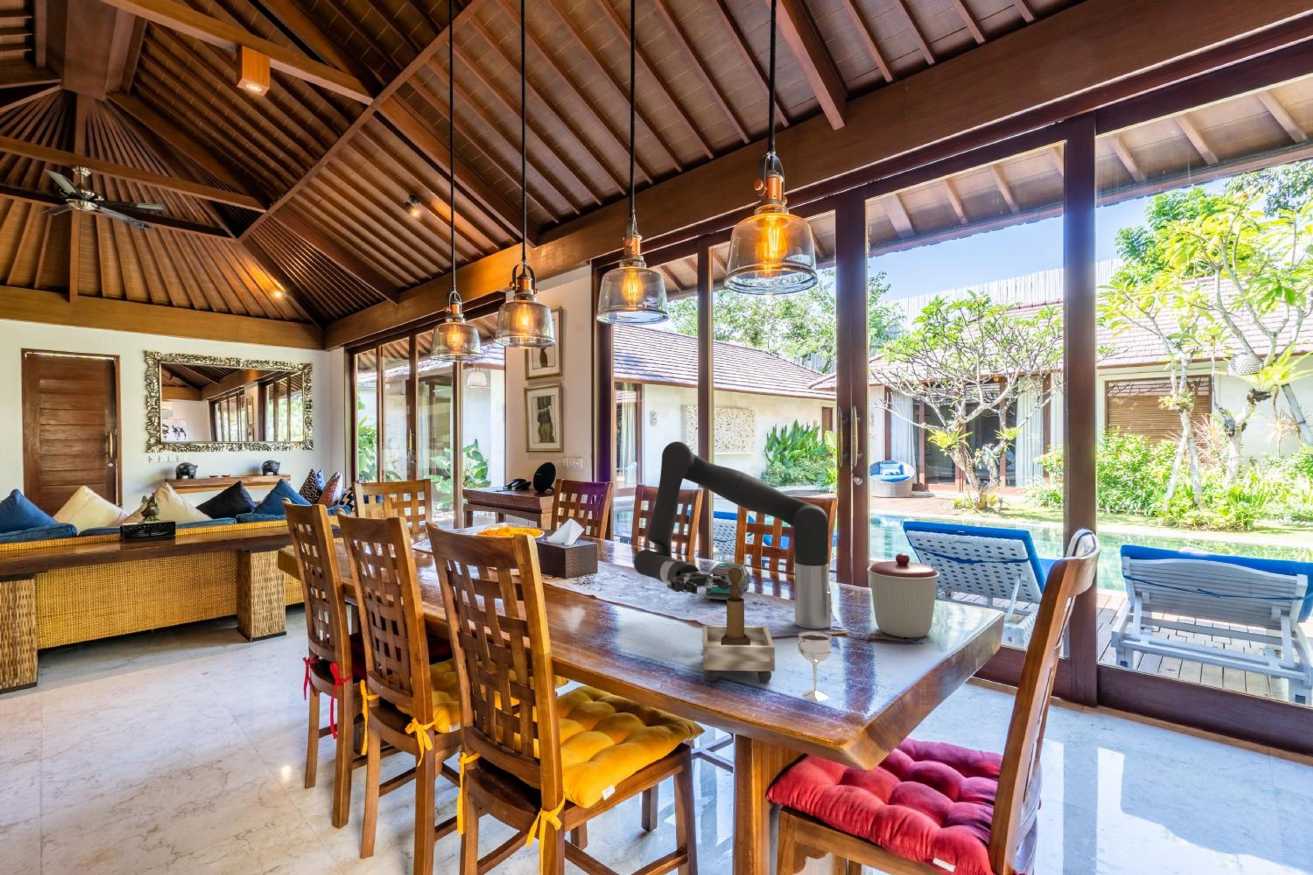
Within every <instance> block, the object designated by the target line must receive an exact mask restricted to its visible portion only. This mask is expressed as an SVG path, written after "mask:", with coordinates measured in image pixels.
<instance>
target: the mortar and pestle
mask: <svg viewBox="0 0 1313 875" xmlns="http://www.w3.org/2000/svg"><path fill="white" fill-rule="evenodd" d="M728 576H729V579H730V581H731V582H732V587H731V588H730V592H731V596H732V597H729V598H727V600H726V626H727V634H725V635H724V636H723V637H722V638H721V645H750V638H749V637H747V635H745V634H744V626H745V599H744V598H742V597H740V598H739V594H740V588H739V587H738V584H739V581H740V579H741V577H742V573H741V570H740V569H738V568H732V569H730V570H729V572H728Z"/></svg>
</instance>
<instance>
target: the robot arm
mask: <svg viewBox="0 0 1313 875" xmlns="http://www.w3.org/2000/svg"><path fill="white" fill-rule="evenodd" d="M660 467H661V468H660V476H659V483H658V490H657V494H656V497H655V502H654V506H653V511H652V514H651V518H650V522H649V525H648V530H647V534H646V538H647V540H648V541H649V542H651V543H652V544H654V545H655V546H656V548H657V552H656V551H653V550H650V549H642V550H640V551H638V552H637V553H636V554H635V556H634V559H633V566H634V569H635V571H636V573H638V574H639V575H643V576H644V577H645V576H646V577H649V578H652V579H656V580H658V581H659V582H661V583H663V584H665V585H666V587H667V588H668V589H670V590H672V591H674V592H677V593H679V592H681V593H684V594H685V593H691V594H693V595H697V593H698V589H701V588H703V589H704V588H705V589H706V588H712V587H718V588H721V589H723V590H728V581H726V576H725V575H722V574H719V573H716V572H710V571H709V572H710V574H709V572H707V573H706V572H702V571H700V569H699V568H698V567H697V566H696V565H695V564H693V563H691V562H688V561H685V560H683V559H679V558H674V557H672V536H673V532H674V529H675V524H676V518H677V511H678V503H679V495H680V491H681V490H680V489H681V486H682V484H683V480H687V481H689V482H692V483H695V484H697V485H700V486H702V487H704V488H706V489H707V490H709V491H710V492H713V493H714V494H716V495H717V496H720V497H721V498H723V499H724V500H727V501H728V502H731V503H733V504H735V505H737V506H739V507H741V508H743V509H747V510H749V511H752V512H756V513H759V514H762V515H766V516H771V517H773V518H776V519H778V520H780V521H782V522H784V523H785V524H787V525H790V526H791V527H792V528H793V554H794V624H795V625H796V626H798V627H800V628H803V629H811V630H812V629H814V630H820V629H826V628H827V629H828V628H832V627H831V626H832V621H831V620H832V616H831V615H832V614H831V612H832V610H831V608H832V607H831V604H832V603H831V599H832V598H831V595H832V594H831V592H830V590H829V588H830V586H829V581H830V580H829V576H830V575H829V573H830V572H829V560H830V558H829V557H830V556H829V518H828V514H827V513H826V511H825V509H823V508H822V507H820V505H819V506H818V505H816V504H812V503H811V502H810V503H809V502H806V501H803V500H800V499H798V498H795V497H792V496H789V495H787V494H785V493H784V492H781V491H780V490H778V489H776V488H775V487H773V486H771V485H769V484H768V483H766V482H764V481H761V480H760V479H758V478H757V477H753V476H751V475H749V474H747V473H745V472H743V471H740V470H737V469H734V468H729V467H726V466H722V465H717V464H714V463H711V462H709V461H708V460H706V459H703V458H702V457H700V456H698V455H697V454H695V453H693V451H692V450H691V448H690V447H689V446H688V445H687V444H686V443H685V442H682V441H672V442H670V443H668V444H667V445H666V446H665V447H664V449H663V451H662V454H661V466H660ZM707 580H708V585H706V583H707ZM713 583H715V584H713Z"/></svg>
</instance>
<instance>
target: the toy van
mask: <svg viewBox="0 0 1313 875" xmlns="http://www.w3.org/2000/svg"><path fill="white" fill-rule="evenodd" d="M732 568H738V569H740V570H741V573H742V577H741V579H740V581H739V584H738V587H739V588H740V594H739V598H741V595H742V594H743V593H744V591H749V590H750V587H749V586H750V584H751V580H750V572H749V571H748V570H747V569H746V566H745V565H744V564H742V563H734V562H720V563H718V564H716V565H715V566H714V567H713V568H712V569H711V570H710V571H709V572H708V574H710V572H716V573H719V574H722V575H725V576H726V581H728V590H723V589H721V588H718V587H712V588H705V599H713V600H722V601H723V600H724V601H725V600H726V601H727V598H729V597H732V596H731V592H730V588H731V587H732V582H731V581H730V579H729V576H728V572H729V570H730V569H732ZM713 584H715V583H713ZM706 585H708V580H707V582H706Z"/></svg>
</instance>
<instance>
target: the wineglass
mask: <svg viewBox="0 0 1313 875" xmlns="http://www.w3.org/2000/svg"><path fill="white" fill-rule="evenodd" d="M797 636H798V638H799V639H798V642H797V648H798V652H799V654H800V655H801V656H802V657H803V658H804V659H805V660H808V661H809V662H810V663H811V664H812V669H813V671H812V672H813V686H814V687H813V689H812V690H805V691H804V692H803V693H802V696H803V697H804V698H805V699H808V700H811V701H824V700H826V699H829V695H828V694H827V693H826V692H824V691H820V690H817V681H818V680H817V678H818V677H817V674H818V672H817V671H818V665H819V664H820V663H821V662H824V661H826V660H827V658H829V657H830V656H831V655H832V654H831V653H832V651H833V644H832V642H831V640H832V638H833V637H832V635H831V634H830V633H828V632H825V631H820V630H804V631H803V630H802V631H799V632H798V633H797Z"/></svg>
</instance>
